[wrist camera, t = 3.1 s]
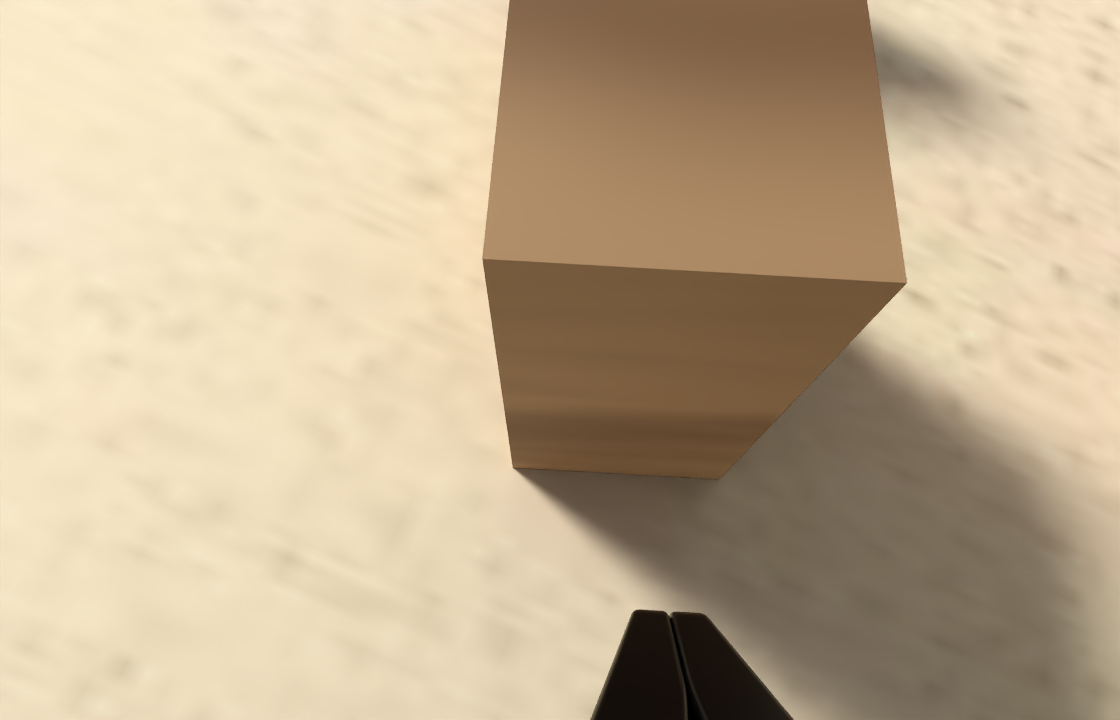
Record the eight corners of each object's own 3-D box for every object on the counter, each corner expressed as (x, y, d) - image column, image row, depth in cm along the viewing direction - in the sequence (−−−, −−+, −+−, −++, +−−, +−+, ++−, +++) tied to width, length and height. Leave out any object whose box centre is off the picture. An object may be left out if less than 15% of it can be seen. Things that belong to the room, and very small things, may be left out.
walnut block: (719, 479, 16) (906, 283, 8) (512, 467, 16) (482, 258, 8) (705, 3, 22) (807, -414, 13) (549, -6, 22) (554, -430, 13)
